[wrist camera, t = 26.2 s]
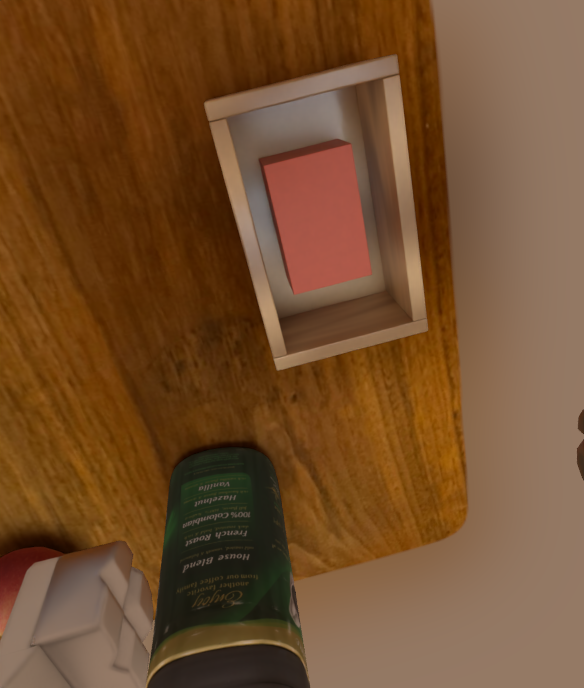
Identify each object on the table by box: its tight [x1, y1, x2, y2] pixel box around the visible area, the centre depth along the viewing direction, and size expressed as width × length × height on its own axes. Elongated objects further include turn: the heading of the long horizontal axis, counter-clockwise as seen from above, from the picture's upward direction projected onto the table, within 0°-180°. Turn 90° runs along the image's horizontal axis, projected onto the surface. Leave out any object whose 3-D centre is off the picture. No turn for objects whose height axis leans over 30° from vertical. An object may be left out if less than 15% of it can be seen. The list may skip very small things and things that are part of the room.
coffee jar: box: [146, 447, 310, 688], centre depth 30 cm, size 10×8×19 cm
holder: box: [204, 54, 428, 371], centre depth 28 cm, size 14×9×6 cm, turn 13°
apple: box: [0, 547, 65, 640], centre depth 36 cm, size 8×8×8 cm
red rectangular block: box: [259, 139, 372, 295], centre depth 28 cm, size 7×4×3 cm, turn 13°
